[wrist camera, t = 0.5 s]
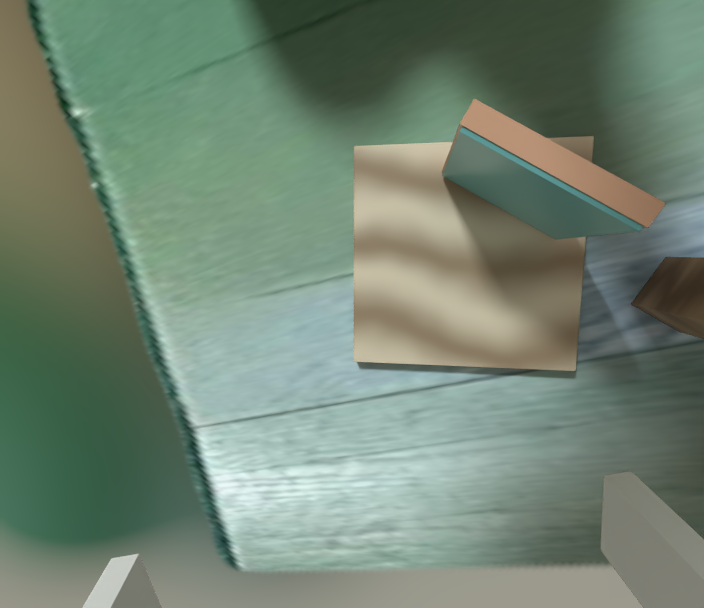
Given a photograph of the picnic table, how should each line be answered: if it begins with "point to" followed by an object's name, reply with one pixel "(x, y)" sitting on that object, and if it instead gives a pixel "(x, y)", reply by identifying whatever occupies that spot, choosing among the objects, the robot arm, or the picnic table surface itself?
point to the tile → (542, 180)
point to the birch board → (457, 269)
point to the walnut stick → (676, 295)
